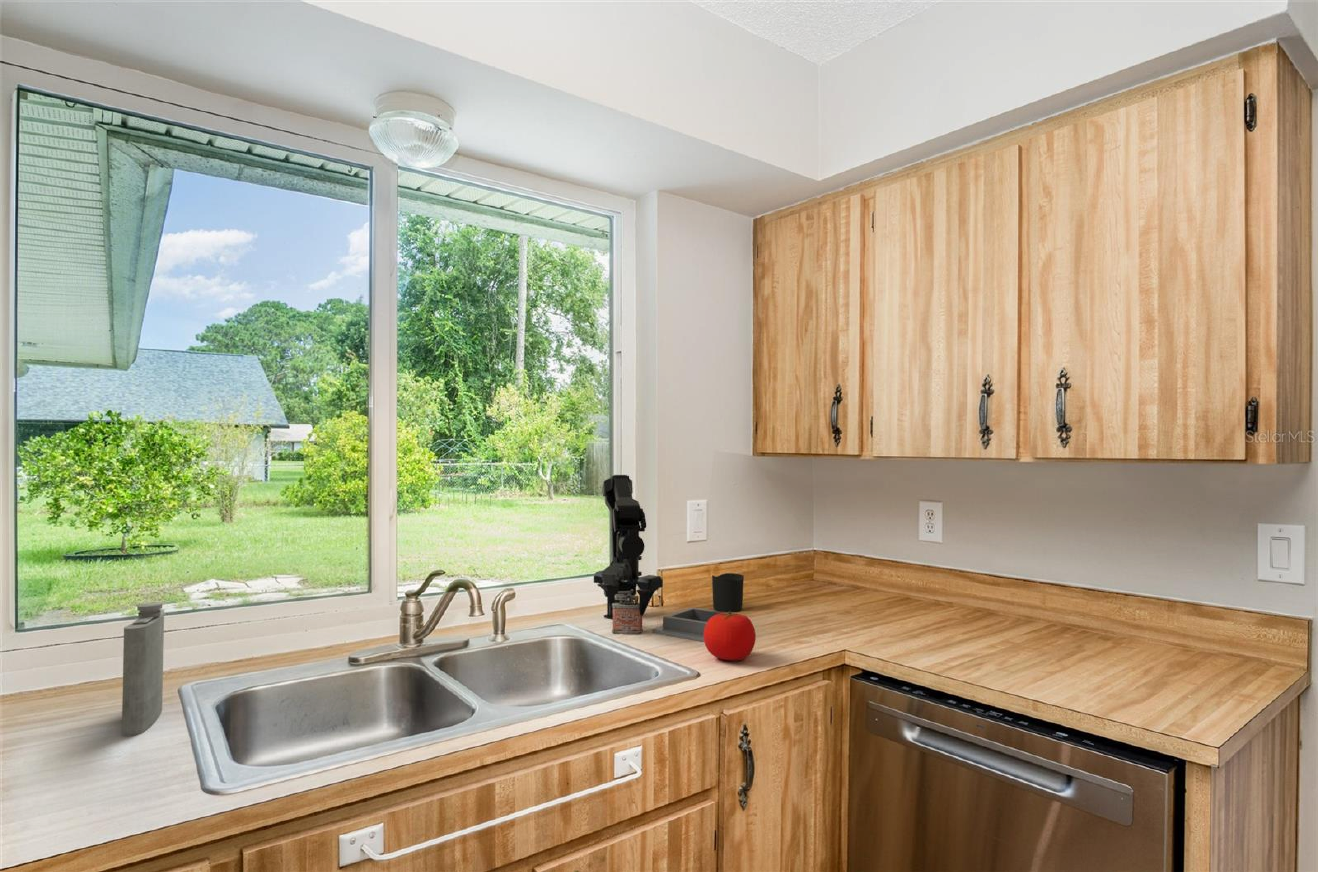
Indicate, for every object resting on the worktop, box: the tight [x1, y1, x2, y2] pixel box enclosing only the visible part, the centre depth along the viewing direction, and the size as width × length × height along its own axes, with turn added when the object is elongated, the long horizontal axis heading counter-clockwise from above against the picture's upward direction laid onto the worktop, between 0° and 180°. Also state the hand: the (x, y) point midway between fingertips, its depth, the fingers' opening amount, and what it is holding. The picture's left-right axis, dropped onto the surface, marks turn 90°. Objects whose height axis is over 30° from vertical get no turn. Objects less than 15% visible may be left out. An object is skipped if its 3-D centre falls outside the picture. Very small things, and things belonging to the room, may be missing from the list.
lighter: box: [611, 594, 644, 636], centre depth 185 cm, size 8×3×10 cm, turn 84°
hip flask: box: [121, 602, 165, 737], centre depth 125 cm, size 16×4×20 cm, turn 24°
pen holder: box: [711, 572, 744, 613], centre depth 214 cm, size 9×9×10 cm
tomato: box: [703, 612, 757, 661], centre depth 162 cm, size 11×12×10 cm
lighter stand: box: [651, 606, 726, 643], centre depth 187 cm, size 18×18×4 cm
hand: (627, 612), depth 185 cm, fingers open, 9 cm apart
